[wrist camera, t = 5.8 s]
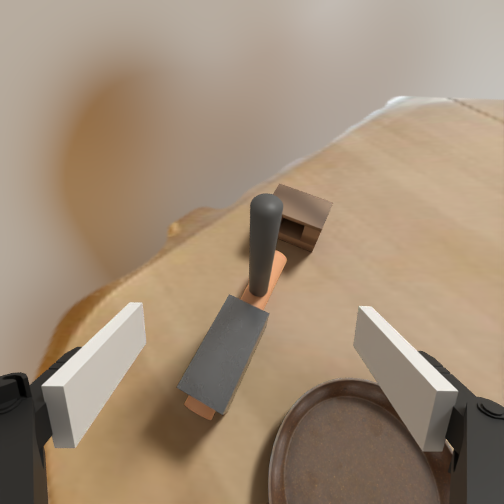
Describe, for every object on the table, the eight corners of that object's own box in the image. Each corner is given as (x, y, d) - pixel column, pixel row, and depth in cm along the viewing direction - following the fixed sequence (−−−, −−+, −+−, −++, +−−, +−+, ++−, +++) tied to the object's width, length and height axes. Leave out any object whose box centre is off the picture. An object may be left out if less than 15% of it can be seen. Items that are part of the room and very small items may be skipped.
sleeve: (227, 412, 27) (222, 415, 22) (189, 389, 28) (176, 387, 23) (265, 327, 32) (269, 313, 26) (231, 310, 33) (229, 294, 28)
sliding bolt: (212, 419, 25) (164, 445, 10) (187, 403, 26) (106, 407, 11) (285, 266, 34) (314, 163, 19) (264, 257, 34) (278, 151, 20)
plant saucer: (246, 587, 21) (246, 614, 18) (282, 362, 30) (286, 359, 27) (472, 667, 19) (508, 709, 16) (439, 402, 28) (459, 403, 25)
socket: (311, 252, 37) (321, 229, 32) (262, 232, 39) (265, 207, 34) (322, 227, 40) (333, 202, 35) (275, 209, 41) (279, 183, 36)
